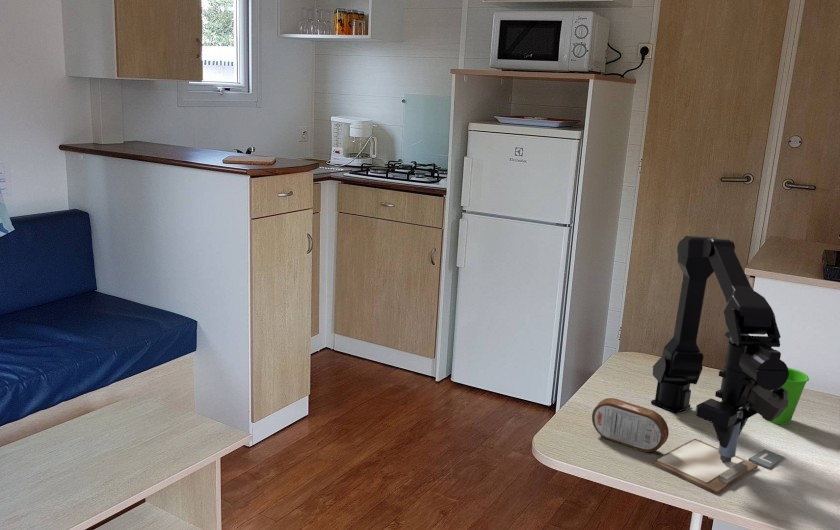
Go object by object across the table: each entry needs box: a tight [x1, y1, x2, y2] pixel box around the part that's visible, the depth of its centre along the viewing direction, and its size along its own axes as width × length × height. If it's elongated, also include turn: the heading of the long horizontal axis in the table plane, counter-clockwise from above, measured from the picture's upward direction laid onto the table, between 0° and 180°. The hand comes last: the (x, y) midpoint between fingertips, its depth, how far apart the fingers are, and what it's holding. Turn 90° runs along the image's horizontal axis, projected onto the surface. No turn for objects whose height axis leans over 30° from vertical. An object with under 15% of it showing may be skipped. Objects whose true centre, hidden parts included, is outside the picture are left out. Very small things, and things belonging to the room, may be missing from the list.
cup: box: [769, 367, 810, 425], centre depth 158 cm, size 9×9×11 cm
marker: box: [718, 409, 743, 462], centre depth 136 cm, size 3×3×10 cm
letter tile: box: [748, 448, 786, 470], centre depth 141 cm, size 4×7×1 cm, turn 131°
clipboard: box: [651, 438, 759, 495], centre depth 137 cm, size 13×16×2 cm
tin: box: [591, 397, 670, 453], centre depth 143 cm, size 15×3×8 cm, turn 54°
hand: (727, 444), depth 137 cm, fingers closed on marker, 3 cm apart
